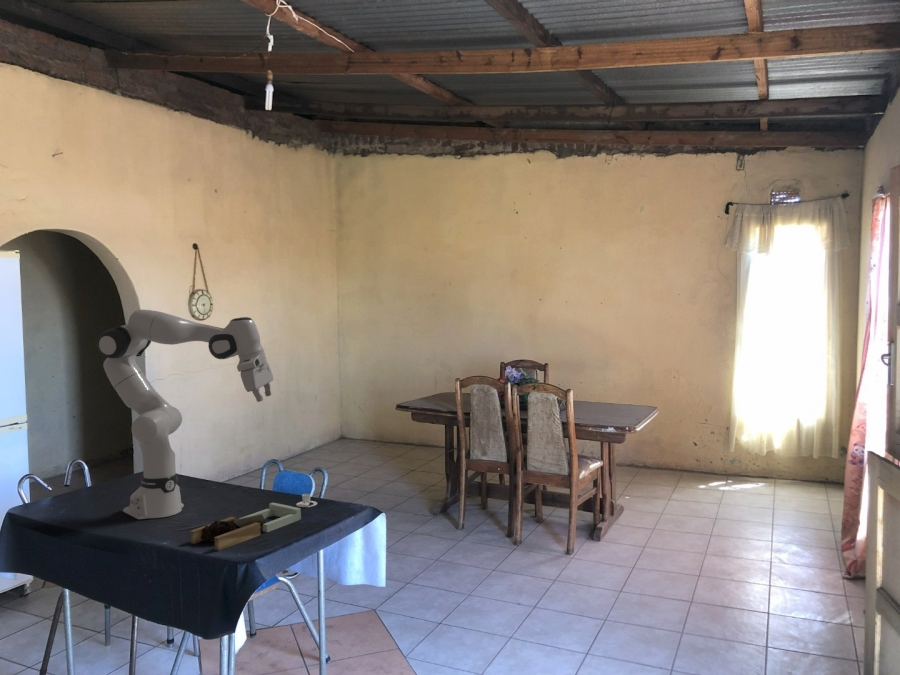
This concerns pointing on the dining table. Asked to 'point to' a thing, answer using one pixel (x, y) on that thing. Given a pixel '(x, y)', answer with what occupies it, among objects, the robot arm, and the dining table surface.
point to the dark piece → (229, 526)
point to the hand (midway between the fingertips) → (264, 398)
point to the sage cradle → (283, 511)
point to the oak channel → (228, 535)
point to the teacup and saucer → (306, 501)
